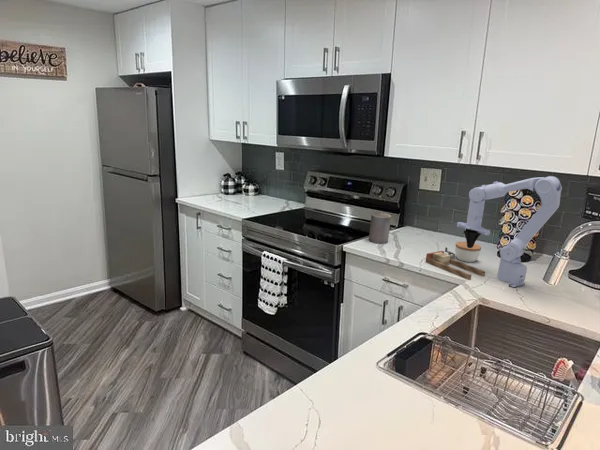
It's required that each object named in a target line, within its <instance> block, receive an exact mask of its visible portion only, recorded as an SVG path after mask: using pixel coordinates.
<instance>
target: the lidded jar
mask: <svg viewBox="0 0 600 450" xmlns="http://www.w3.org/2000/svg"><path fill="white" fill-rule="evenodd" d="M481 250H482V246H481V245H479V244H478V243H476V242H475V243H474V246H473V248H468V247H467V241H457V242H456V243H455V248H454V254H455V258H456V259H457V260H458V261H460V262H461V261H462V262H464V263H465V262H467V263H475V262H476V261H477V260H478V259H479V257H480V254H481Z"/></svg>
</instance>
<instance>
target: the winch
mask: <svg viewBox="0 0 600 450" xmlns="http://www.w3.org/2000/svg"><path fill="white" fill-rule="evenodd" d="M444 250H445V251H444V253H446V254H448V255H450V256H451V257H450V258H451V259H454V260H456V259H455V258H456V254H455V252H453V251H450V250H449V249H448V247H445V249H444Z"/></svg>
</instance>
